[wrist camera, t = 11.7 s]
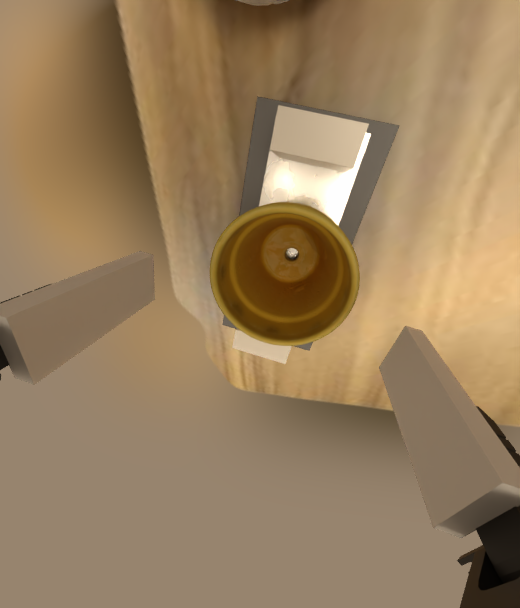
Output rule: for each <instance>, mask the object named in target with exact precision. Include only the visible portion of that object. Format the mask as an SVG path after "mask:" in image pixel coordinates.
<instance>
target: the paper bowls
mask: <svg viewBox="0 0 520 608" xmlns="http://www.w3.org/2000/svg"><path fill="white" fill-rule="evenodd" d="M235 1H240V2H243V3H247V4H251V5H256V6H261V5H270V4H272V3H273V4H280V3H283V2H287V1H289V0H235Z"/></svg>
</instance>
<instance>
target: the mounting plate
mask: <svg viewBox="0 0 520 608" xmlns="http://www.w3.org/2000/svg"><path fill="white" fill-rule="evenodd" d="M278 105H281V106H285V107H290V108H295V109H300V110H305V111H310V112H314V113H319V114H324V115H329V116H334V117H339V118H343V119H348V120H353V121H358V122H363V123H368V124H369V125H368V128H367V131H366V133H370V134H371V135H370V138H369V141H368V144H367V147H366V149H365V152H364V155H363V158H362V161H361V163H360V166H359V169H358V172H357V175H356V177H355V180H354V183H353V186H352V188H351V191H350V194H349V197H348V200H347V202H346V205H345V208H344V211H343V214H342V216H341V219H340V222H339V225H338V226H339V227H340V228H341V230H342V231H343V232H344V233H345V235H346V236H347V238H348V239H349V241H350V243H351V245H352V243H353V240H354V238H355V235H356V233H357V230H358V228H359V225H360V223H361V220H362V218H363V215H364V213H365V210H366V208H367V205H368V203H369V200H370V198H371V195H372V193H373V190H374V188H375V186H376V183H377V181H378V178H379V176H380V173H381V171H382V168H383V166H384V163H385V161H386V158H387V156H388V153H389V151H390V148H391V146H392V143H393V141H394V138H395V136H396V133H397V131H398V128H399V125H394V124H389V123H384V122H380V121H375V120H370V119H365V118H360V117H355V116H350V115H345V114H341V113H336V112H331V111H326V110H321V109H316V108H311V107H306V106H302V105H297V104H292V103H287V102H282V101H277V100H272V99H267V98H263V97H258V96H257V103H256V110H255V116H254V123H253V129H252V136H251V142H250V149H249V155H248V162H247V168H246V175H245V181H244V188H243V195H242V201H241V208H240V214H239V216H241V215H242V214H244V213H246V212H247V211H249V210H251V209H254V208H256V207H259V203H260V198H261V192H262V187H263V182H264V177H265V171H266V166H267V161H268V155H269V150H270V145H271V139H272V134H273V129H274V124H275V118H276V114H277V109H278ZM223 325H225V326H228V327H232V328H235V329H236V328H237V327H235V326H234V325H233V324H232V323H231V322H230V321H229V320H228V319H227V318H226V316H225V315H224V319H223ZM312 343H313V342H310V343H307V344H303V345H297V346H295V347H298V348H302V349H305V350H310V348H311V345H312Z"/></svg>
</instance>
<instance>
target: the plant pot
mask: <svg viewBox="0 0 520 608" xmlns="http://www.w3.org/2000/svg"><path fill="white" fill-rule="evenodd" d="M289 248H294V249H296V250H297V251H298V257H297V258H296V259H289V258H288V257H287V256H286V251H287V250H288V249H289ZM210 282H211V288H212V291H213V295H214V297H215V300H216V302H217V304H218V306H219V308H220V309H221V311H222V312H223V314H224V315H225V316H226V318H227V319H228V320H229V321H230V322H231V323H232V324H233V325H234V326H235V327H237V328H238V329H239V330H240V331H242V332H243V333H245V334H246V335H248V336H250V337H252V338H254V339H256V340H259V341H261V342H264V343H268V344H272V345H279V346H297V345H303V344H307V343H310V342H313V341H316V340H318V339H320V338H322V337H324V336H326V335H328V334H329V333H331V332H332V331H333V330H335V329H336V328H337V327H338V326H339V325H340V324H341V323H342V322H343V321H344V319H345V318H346V317H347V316H348V314H349V313H350V311H351V309H352V307H353V305H354V303H355V301H356V298H357V294H358V290H359V282H360V273H359V265H358V261H357V257H356V254H355V251H354V249H353V247H352V245H351V243H350V241H349V239H348V238H347V236H346V235H345V233H344V232H343V231H342V230H341V228H340V227H339V226H338V225H337V224H336V223H335V222H334V221H333V220H332V219H331V218H329V217H328V216H327V215H325V214H324V213H322V212H321V211H319V210H317V209H315V208H312V207H310V206H307V205H304V204H299V203H293V202H277V203H270V204H266V205H262V206H259V207H256V208H254V209H251V210H249V211H247V212H246V213H244V214H242V215H241V216H239V217H238V218H236V219H235V220H234V221H233V222H232V223H231V224H230V225H229V226H228V227H227V228H226V229H225V230H224V231H223V233H222V234H221V236H220V237H219V239H218V241H217V243H216V245H215V248H214V250H213V253H212V257H211V263H210Z"/></svg>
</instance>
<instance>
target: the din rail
mask: <svg viewBox="0 0 520 608" xmlns="http://www.w3.org/2000/svg"><path fill="white" fill-rule="evenodd" d="M276 115H277V114H276ZM275 120H276V118H275ZM274 125H275V124H274ZM273 131H274V129H273ZM370 135H371V134H370V133H366V134H365V137H364V140H363V142H362V145H361V148H360V151H359V154H358V157H357V160H356V163H355V165H354V168H353V169H351V170H349V171H347V172H340V171H336V170H331V169H327V168H323V167H318V166H314V165H309V164H305V163H301V162H296V161H292V160H287V159H283V158H279V157H278V156H277V155H276V154H274V153H273V152H272V151H271V150H269V155H268V161H267V166H266V171H265V177H264V182H263V187H262V192H261V198H260V203H259V206H262V205H266V204H270V203H277V202H293V203H299V204H304V205H307V206H310V207H312V208H315V209H317V210H319V211H321V212H322V213H324V214H325V215H327V216H328V217H329V218H331V219H332V220H333V221H334V222H335V223H336V224H337V225H339V222H340V219H341V216H342V214H343V211H344V208H345V205H346V202H347V200H348V197H349V194H350V191H351V188H352V186H353V183H354V180H355V177H356V175H357V172H358V169H359V166H360V163H361V161H362V158H363V155H364V152H365V149H366V147H367V144H368V141H369V138H370ZM272 136H273V134H272ZM271 141H272V139H271ZM270 146H271V145H270ZM286 256H287V257H288V258H289V259H296V258H297V257H298V251H297V250H296V249H294V248H289V249H288V250H287V251H286Z"/></svg>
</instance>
